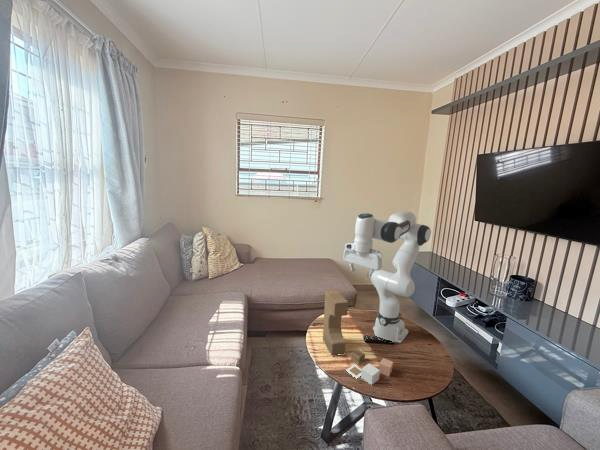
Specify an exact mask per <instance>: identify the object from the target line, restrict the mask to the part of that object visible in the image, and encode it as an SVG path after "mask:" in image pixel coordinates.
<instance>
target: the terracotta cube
mask: <svg viewBox="0 0 600 450" xmlns="http://www.w3.org/2000/svg"><path fill="white" fill-rule="evenodd" d="M393 367H394V362H393V361H392V360H389V359H387V358H384V357H383V358H382V359H381V360H380V362H379V368H378V369H379V370H380V375H384V376H386V377H390V375H391V373H392V372H393Z"/></svg>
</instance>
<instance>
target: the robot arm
mask: <svg viewBox="0 0 600 450" xmlns="http://www.w3.org/2000/svg"><path fill="white" fill-rule="evenodd" d="M354 227H355V228H354V233H355V236H354V239H353V242H347V243H345V244H344V249H343V255H342V258H343V259H342V260H343V261H344V262H347V263H348V265H349V267H350V272H353V273H355V272H356V267H354V265H356V266H361V267H363V268H367V269H369V272H367V273H366V277H368V278H370V282H371V283H372V285H373V286H374V287H375V289H376V292H377V295H378V298H379V308H378V309H379V310H378V313H377V317H376V319H375V323H374V326H372V330H373V332H374V333H373V334H374V336H375V337H376V336H377V337H380V338H383V339H386V340H390V341H392V342H391V343H398V344H400V343H402V342H403V341H404V339H405V338H406V337H407V335H408V334H409V330H408V329H407V328H405V327H406V323H405V321H403V320H402V319H400V317H402V316H403V313H401V312H400V307H401V306H400V305H401V304H400V301H399V299H398V298H397V297H396V296H395V295H397V296H400V297H405V298H408V297H411V296H412V295H413V294H414V292H415V290H416V289H415V288H416V286H415V282H414V281H413V279H412V277H411V270H412V268H413V265H414V264H415V261H416V259H417V256H418V254H419V252H420V251H419V250H420V247H421V246H423V245H424V244H426V243H427V242H428V241H429V240H430V238H431V235H432V231H431V228H430V227H429V225H426V224H421V223H420V224H419V223H417V217H416V215H415V214H414V213H413V212H411V211H408V210H407V211H406V210H405V211H404V210H402V211H397V212H394V213H393V214H391V215H390V216H389V217H388V220H383V219H382V220H381V219H377V218H375V217H374V215H373V214H372V213H369V212H368V213H359V214H358V215H357V217H356V221H355V225H354ZM373 239H375V240H379V241H383V242H386V243H390V244H393V243H395V242H396V241H398V240H400V239H401V240H403V243H402V244H401V245H400V246H399V247H398V250H397V251H396V254H395V256H394V257H393V259H392V262H391V265H392V266H393V268H394V269H395V270H396V272H390V271H387V270H383V269H382V267H383V261H382V260H383V254H382V252H380V250H378V249H377V250H376V249H373V244H374V243H373V242H374V240H373ZM377 337H376V338H377Z"/></svg>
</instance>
